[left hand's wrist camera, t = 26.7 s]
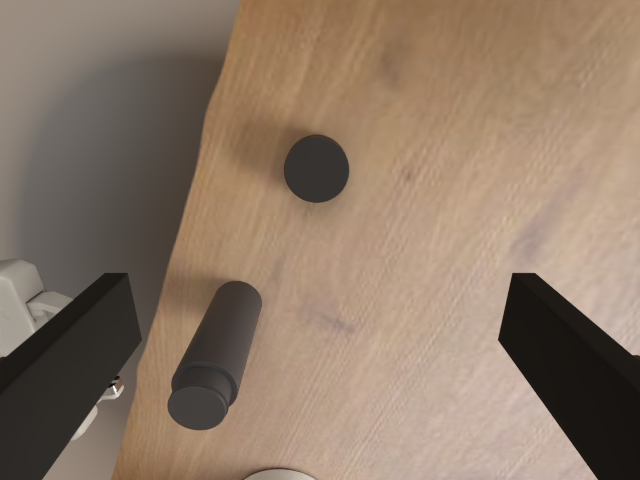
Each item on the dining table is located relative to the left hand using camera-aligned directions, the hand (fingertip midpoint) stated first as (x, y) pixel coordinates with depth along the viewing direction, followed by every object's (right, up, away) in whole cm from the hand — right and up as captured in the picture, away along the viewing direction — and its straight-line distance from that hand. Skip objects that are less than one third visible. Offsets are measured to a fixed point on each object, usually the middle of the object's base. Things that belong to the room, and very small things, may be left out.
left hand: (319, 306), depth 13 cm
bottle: (-10, -5, +30) cm, 32 cm away
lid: (0, +9, +22) cm, 24 cm away
